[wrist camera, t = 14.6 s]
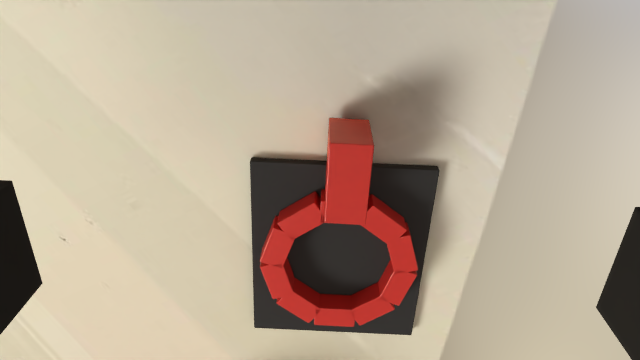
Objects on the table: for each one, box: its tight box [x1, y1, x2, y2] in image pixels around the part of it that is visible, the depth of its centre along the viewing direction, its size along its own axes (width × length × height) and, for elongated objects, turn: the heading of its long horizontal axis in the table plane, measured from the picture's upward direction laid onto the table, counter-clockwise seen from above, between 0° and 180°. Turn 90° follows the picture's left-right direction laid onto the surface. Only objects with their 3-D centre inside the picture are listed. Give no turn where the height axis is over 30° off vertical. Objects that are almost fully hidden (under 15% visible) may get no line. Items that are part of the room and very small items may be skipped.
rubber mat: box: [250, 158, 439, 335], centre depth 34 cm, size 12×14×1 cm
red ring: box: [260, 118, 418, 327], centre depth 31 cm, size 15×11×4 cm
